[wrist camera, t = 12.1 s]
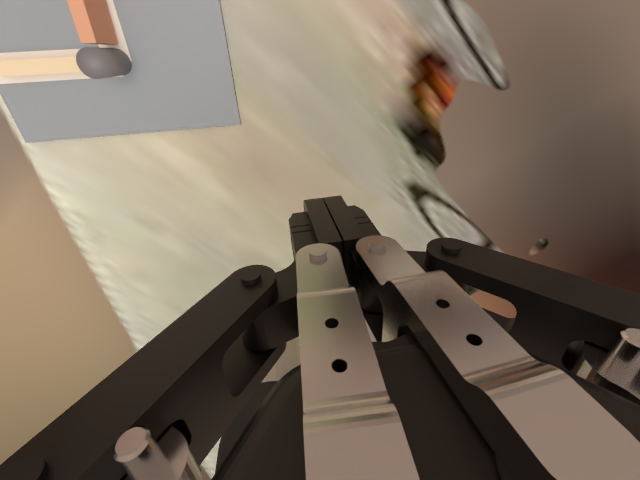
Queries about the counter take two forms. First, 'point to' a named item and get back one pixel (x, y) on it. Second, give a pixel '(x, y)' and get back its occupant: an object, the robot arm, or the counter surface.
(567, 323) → the robot arm
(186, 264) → the counter surface
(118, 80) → the slate board
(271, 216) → the counter surface
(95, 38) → the salmon long narrow block
